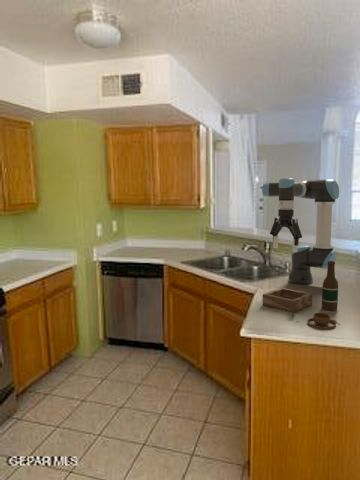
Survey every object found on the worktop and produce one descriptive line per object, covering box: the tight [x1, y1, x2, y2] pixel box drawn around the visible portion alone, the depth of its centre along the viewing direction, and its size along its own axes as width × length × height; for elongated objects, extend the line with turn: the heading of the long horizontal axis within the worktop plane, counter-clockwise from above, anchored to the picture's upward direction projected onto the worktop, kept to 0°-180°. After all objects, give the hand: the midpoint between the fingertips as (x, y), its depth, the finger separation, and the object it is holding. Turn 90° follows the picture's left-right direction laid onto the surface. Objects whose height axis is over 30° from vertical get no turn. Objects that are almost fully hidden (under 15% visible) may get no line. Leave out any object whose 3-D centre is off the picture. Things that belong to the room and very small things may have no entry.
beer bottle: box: [321, 261, 339, 312], centre depth 187 cm, size 8×8×24 cm
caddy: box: [262, 287, 313, 314], centre depth 195 cm, size 18×18×6 cm
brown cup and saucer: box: [291, 305, 341, 330], centre depth 171 cm, size 18×20×6 cm
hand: (285, 250), depth 195 cm, fingers open, 13 cm apart
